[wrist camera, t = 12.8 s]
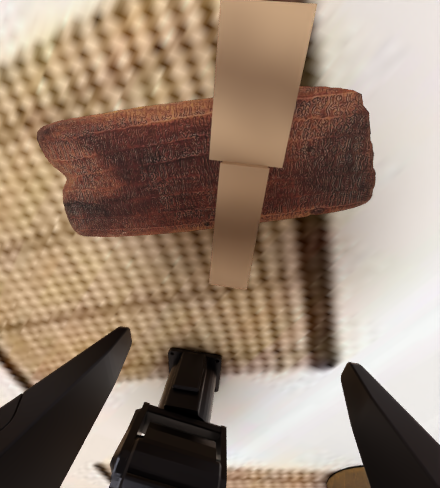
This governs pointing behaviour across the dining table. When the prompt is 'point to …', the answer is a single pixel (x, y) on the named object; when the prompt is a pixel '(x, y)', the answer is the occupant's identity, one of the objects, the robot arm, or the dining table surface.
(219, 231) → the tan paddle
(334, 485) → the wooden container
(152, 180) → the wooden tablet
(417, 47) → the dining table surface
